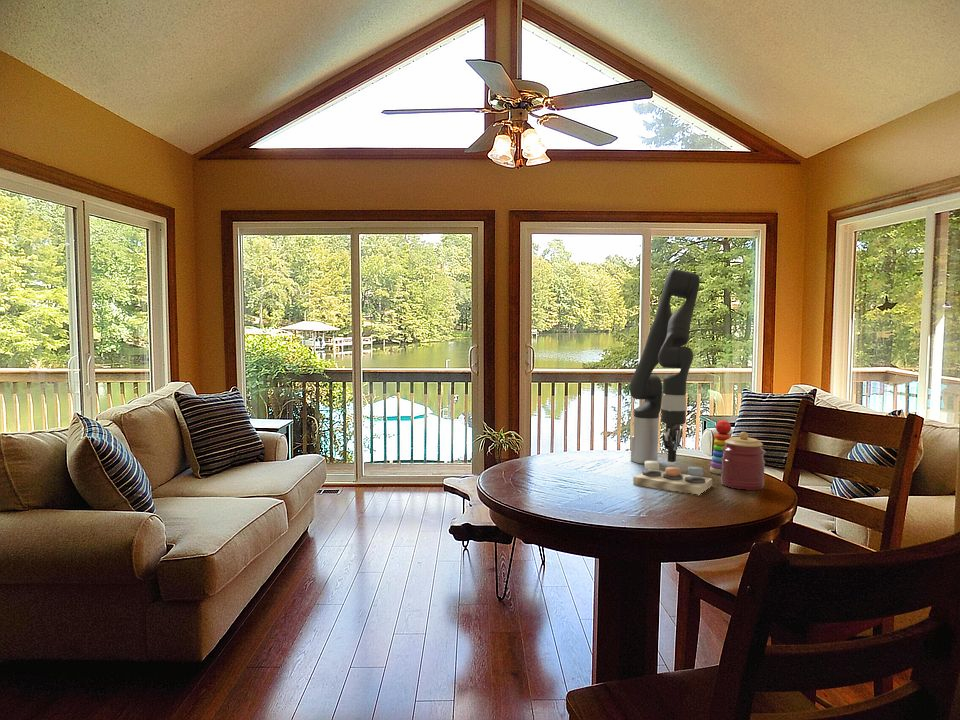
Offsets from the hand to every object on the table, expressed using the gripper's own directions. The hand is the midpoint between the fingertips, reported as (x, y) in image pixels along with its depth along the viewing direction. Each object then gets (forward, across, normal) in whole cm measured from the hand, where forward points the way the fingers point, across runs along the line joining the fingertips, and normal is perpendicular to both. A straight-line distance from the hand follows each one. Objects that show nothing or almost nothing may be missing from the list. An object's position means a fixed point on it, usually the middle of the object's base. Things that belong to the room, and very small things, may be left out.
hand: (671, 461), depth 190 cm
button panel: (+8, 0, +1) cm, 8 cm away
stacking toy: (+8, -29, +8) cm, 31 cm away
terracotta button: (+4, 0, +1) cm, 4 cm away
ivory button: (+3, 0, -6) cm, 7 cm away
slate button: (+3, 0, +7) cm, 8 cm away
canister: (+8, -14, +18) cm, 25 cm away
